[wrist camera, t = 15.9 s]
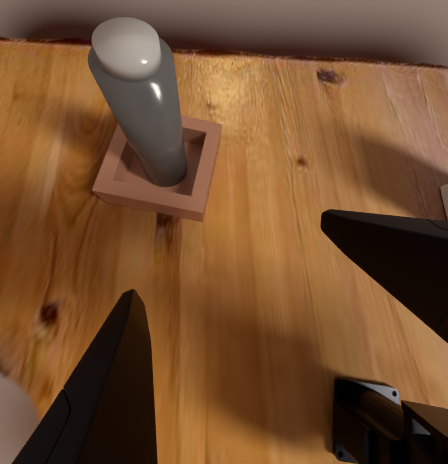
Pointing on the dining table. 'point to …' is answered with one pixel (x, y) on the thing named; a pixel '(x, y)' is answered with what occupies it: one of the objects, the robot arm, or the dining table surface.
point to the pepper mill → (142, 95)
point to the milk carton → (445, 197)
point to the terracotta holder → (154, 197)
